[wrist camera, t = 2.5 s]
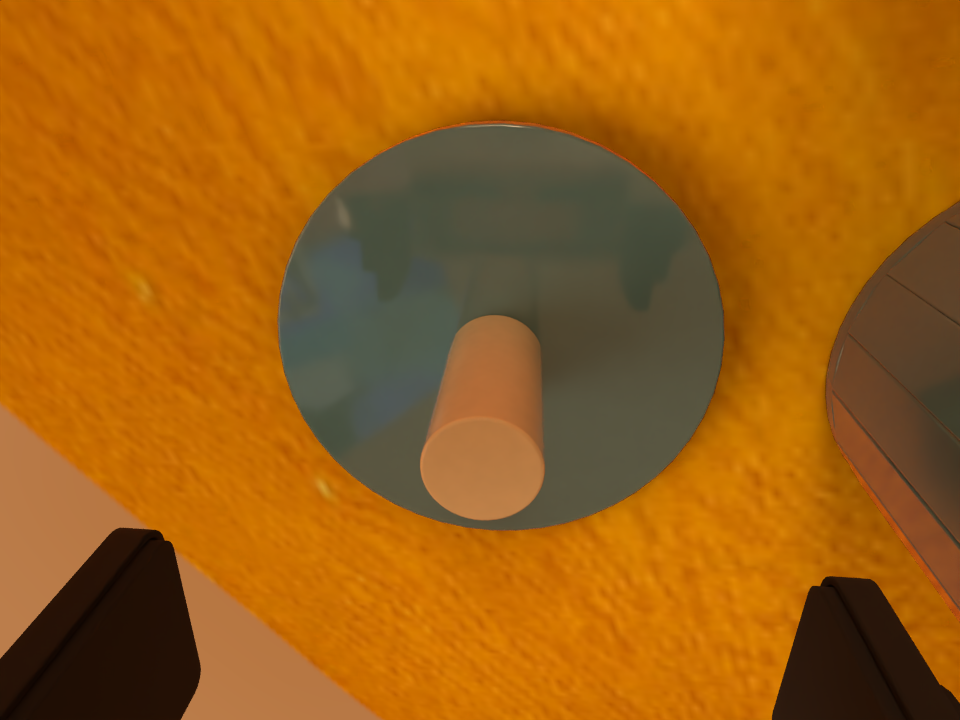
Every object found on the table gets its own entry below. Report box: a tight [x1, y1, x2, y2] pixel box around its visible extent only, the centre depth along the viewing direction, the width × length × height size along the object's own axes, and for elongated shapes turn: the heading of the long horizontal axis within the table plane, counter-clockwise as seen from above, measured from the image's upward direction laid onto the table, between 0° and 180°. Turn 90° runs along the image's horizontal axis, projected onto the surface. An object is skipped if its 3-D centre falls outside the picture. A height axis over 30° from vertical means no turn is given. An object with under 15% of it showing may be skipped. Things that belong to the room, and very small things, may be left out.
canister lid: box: [278, 120, 725, 530], centre depth 16 cm, size 11×11×6 cm
